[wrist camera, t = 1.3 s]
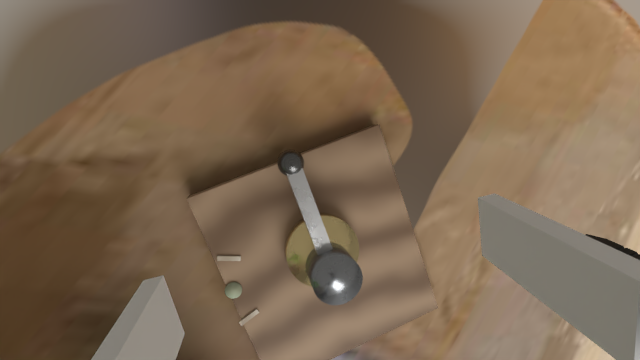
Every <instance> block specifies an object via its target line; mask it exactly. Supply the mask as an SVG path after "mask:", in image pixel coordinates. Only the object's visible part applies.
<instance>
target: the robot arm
mask: <svg viewBox="0 0 640 360" xmlns="http://www.w3.org/2000/svg"><path fill="white" fill-rule="evenodd" d="M478 206H479V220H480V233H481V246H482V256H484V257H485V258H486V259H487V260H489V261H490V262H491V263H493V264H494V265H495V266H496V267H498V268H499V269H500V270H502V271H503V272H504V273H505V274H507V275H508V276H509V277H511V278H512V279H513V280H514V281H516V282H517V283H518V284H520V285H521V286H522V287H523V288H525V289H526V290H527V291H529V292H530V293H531V294H532V295H534V296H535V297H536V298H538V299H539V300H540V301H541V302H543V303H544V304H545V305H547V306H548V307H549V308H550V309H552V310H553V311H554V312H556V313H557V314H558V315H559V316H561V317H562V318H563V319H565V320H566V321H567V322H568V323H570V324H571V325H572V326H574V327H575V328H576V329H577V330H579V331H580V332H581V333H583V334H584V335H585V336H586V337H588V338H589V339H590V340H592V341H593V342H594V343H596V344H597V345H598V346H599V347H601V348H602V349H603V350H605V351H606V352H607V353H608V354H610V355H611V356H612V357H614V358H615V359H616V360H640V255H638V253H637V252H635V251H633V250H630V249H628V248H624V246H621V245H619V244H617V243H615V242H612V241H610V240H608V239H604V238H600V237H596V236H592V235H588V234H586V235H584V234H582V233H579V232H577V231H575V230H573V229H571V228H569V227H566V226H564V225H562V224H560V223H558V222H556V221H553V220H551V219H549V218H547V217H545V216H543V215H540V214H538V213H536V212H534V211H532V210H529V209H527V208H525V207H523V206H521V205H519V204H516V203H514V202H512V201H510V200H508V199H506V198H503V197H501V196H499V195H497V194H491V195H487V196H483V197H479V198H478ZM184 334H185V333H184V330H183V327H182V324H181V322H180V319H179V316H178V314H177V311H176V308H175V306H174V303H173V300H172V297H171V295H170V292H169V289H168V287H167V284H166V281H165V278H164V276H159V277H155V278H151V279H147V280H143V282H142V283H141V285H140V286H139V288H138V289H137V291H136V292H135V294H134V295H133V297H132V298H131V300H130V301H129V303H128V304H127V306H126V307H125V309H124V311H123V312H122V314H121V315H120V317H119V318H118V320H117V321H116V323H115V324H114V326H113V327H112V329H111V330H110V332H109V333H108V335H107V336H106V338H105V339H104V341H103V342H102V344H101V345H100V347H99V348H98V350H97V351H96V353H95V354H94V356H93V358H92V359H91V360H176V358H177V355H178V352H179V349H180V346H181V343H182V340H183V337H184Z"/></svg>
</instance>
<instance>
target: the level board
mask: <svg viewBox="0 0 640 360" xmlns="http://www.w3.org/2000/svg"><path fill="white" fill-rule="evenodd" d="M300 154H301V155H302V156H303V159H304V168H303V171H304V174H305V176H306V179H307V182H308V184H309V187H310V190H311V192H312V195H313V198H314V200H315V203H316V205H317V208H318V211H319V213H327V214H332V215H335V216H337V217H339V218H341V219H342V220H344V221H345V222H346V223H347V224H348V225H349V226H350V227H351V228H352V229H353V231H354V232H355V234H356V236H357V239H358V242H359V257H358V261H357V264H358V265H359V267H360V268H361V271H362V275H363V281H362V286H361V289H360V291H359V292H358V294H357V295H356V296H355V297H354V298H353V299H352V300H351V301H349V302H347V303H345V304H342V305H329V304H326V303H324V302H322V301H321V300H320V299H319V298H318V297H317V296H316V294H315V292H314V290H313V288H312V287H310V286H307V285H305V284H303V283H301V282H300V281H299V280H298V279H296V278H295V276H294V275H293V274H292V272H291V271H290V269H289V266H288V263H287V260H286V255H285V245H286V241H287V238H288V235H289V233H290V231H291V230H292V229H293V227H294V226H295V225H296V224H297V223H298V222H299V221H301V220H302V219H303V217H302V215H301V212H300V210H299V207H298V204H297V202H296V199H295V197H294V194H293V192H292V189H291V186H290V184H289V181H288V179H287V176H286V175H284V174H282V173H281V172H280V170H279V168H278V165H277V162H275V163H273V164H270V165H268V166H265V167H262V168H260V169H257V170H255V171H252V172H249V173H247V174H244V175H242V176H239V177H236V178H234V179H231V180H229V181H226V182H223V183H221V184H218V185H216V186H213V187H210V188H208V189H205V190H203V191H200V192H198V193H195V194H192V195H190V196H189V197H188V198H187V201H188V203H189V206H190V208H191V210H192V212H193V214H194V217H195V219H196V221H197V223H198V225H199V228H200V230H201V232H202V234H203V236H204V239H205V241H206V243H207V245H208V247H209V249H210V252H211V254H212V256H213V258H214V260H215V263H216V265H217V267H218V269H219V271H220V274H221V276H222V278H223V280H224V282H225V285H226V288H225V294H226V296H227V297H229V298H232V300H233V302H234V304H235V307H236V309H237V311H238V313H239V315H240V317H241V321H239V324H240V325H241V326H242V325H244V326H245V328H246V331H247V333H248V335H249V337H250V339H251V342H252V344H253V346H254V348H255V350H256V353H257V355H258V357H259V359H260V360H330V359H332V358H335V357H337V356H339V355H341V354H343V353H345V352H347V351H349V350H351V349H353V348H355V347H357V346H360V345H362V344H364V343H366V342H368V341H370V340H372V339H374V338H376V337H378V336H380V335H382V334H384V333H387V332H389V331H391V330H393V329H395V328H397V327H399V326H401V325H403V324H405V323H407V322H409V321H412V320H414V319H416V318H418V317H420V316H422V315H424V314H426V313H428V312H430V311H432V310H434V309H437V308H438V306H437V303H436V300H435V297H434V294H433V291H432V287H431V284H430V281H429V278H428V275H427V272H426V269H425V266H424V262H423V259H422V256H421V253H420V250H419V247H418V244H417V241H416V237H415V234H414V231H413V228H412V225H411V222H410V219H409V216H408V212H407V209H406V206H405V203H404V200H403V197H402V194H401V191H400V187H399V184H398V181H397V178H396V175H395V172H394V169H393V165H392V162H391V159H390V156H389V153H388V150H387V147H386V144H385V140H384V137H383V134H382V131H381V128H380V125H372V126H369V127H366V128H364V129H361V130H359V131H356V132H353V133H351V134H348V135H346V136H343V137H340V138H338V139H335V140H333V141H330V142H327V143H325V144H322V145H320V146H317V147H314V148H312V149H309V150H307V151H304V152H301V153H300Z"/></svg>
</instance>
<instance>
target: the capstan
mask: <svg viewBox="0 0 640 360" xmlns="http://www.w3.org/2000/svg"><path fill="white" fill-rule="evenodd" d="M277 165H278V168H279V170H280V172H281V173H282V174H284V175H286V176H287V179H288V181H289V184H290V186H291V189H292V192H293V194H294V197H295V199H296V202H297V204H298V207H299V210H300V212H301V215H302V217H303V219H302V220H301V221H299V222H298V223H297V224H296V225H295V226H294V227H293V229H292V230H291V231H290V233H289V235H288V238H287V241H286V245H285V255H286V260H287V263H288V266H289V269H290V271H291V272H292V274H293V275H294V276H295V278H296V279H298V280H299V281H300V282H301V283H303V284H305V285H307V286H310V287H312V288H313V290H314V292H315V294H316V296H317V297H318V298H319V299H320V300H321V301H322V302H324V303H326V304H329V305H342V304H345V303H347V302H349V301H351V300H352V299H353V298H354V297H355V296H356V295H357V294H358V292H359V291H360V289H361V286H362V281H363V275H362V271H361V268H360V267H359V265H358V264H357V261H358V257H359V242H358V239H357V236H356V234H355V232H354V231H353V229H352V228H351V227H350V226H349V225H348V224H347V223H346V222H345V221H344V220H342V219H341V218H339V217H337V216H335V215H332V214H327V213H319V211H318V208H317V205H316V203H315V200H314V198H313V195H312V192H311V190H310V187H309V184H308V182H307V179H306V176H305V174H304V171H303V168H304V159H303V156H302V155H301V154H300V153H299V152H298V151H295V150H286V151H284V152H282V153H281V154H280V156H279V158H278V161H277Z"/></svg>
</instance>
